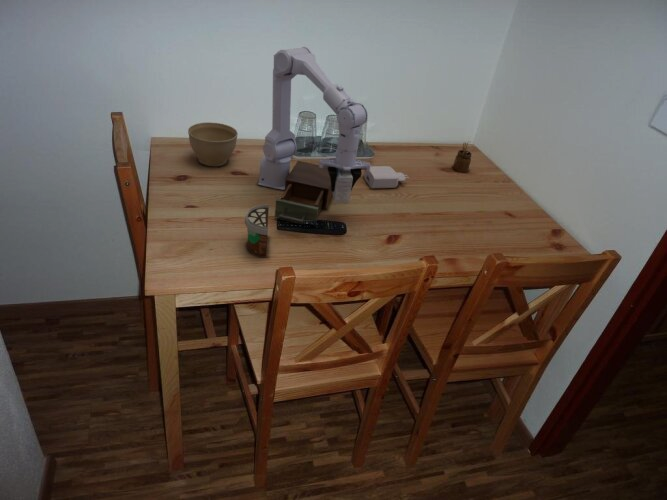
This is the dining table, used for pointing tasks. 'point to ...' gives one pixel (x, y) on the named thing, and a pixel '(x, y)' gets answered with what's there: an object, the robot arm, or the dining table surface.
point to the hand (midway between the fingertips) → (340, 190)
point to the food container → (257, 229)
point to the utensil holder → (462, 159)
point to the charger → (383, 177)
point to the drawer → (299, 203)
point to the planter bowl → (212, 142)
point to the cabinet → (311, 179)
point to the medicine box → (342, 186)
